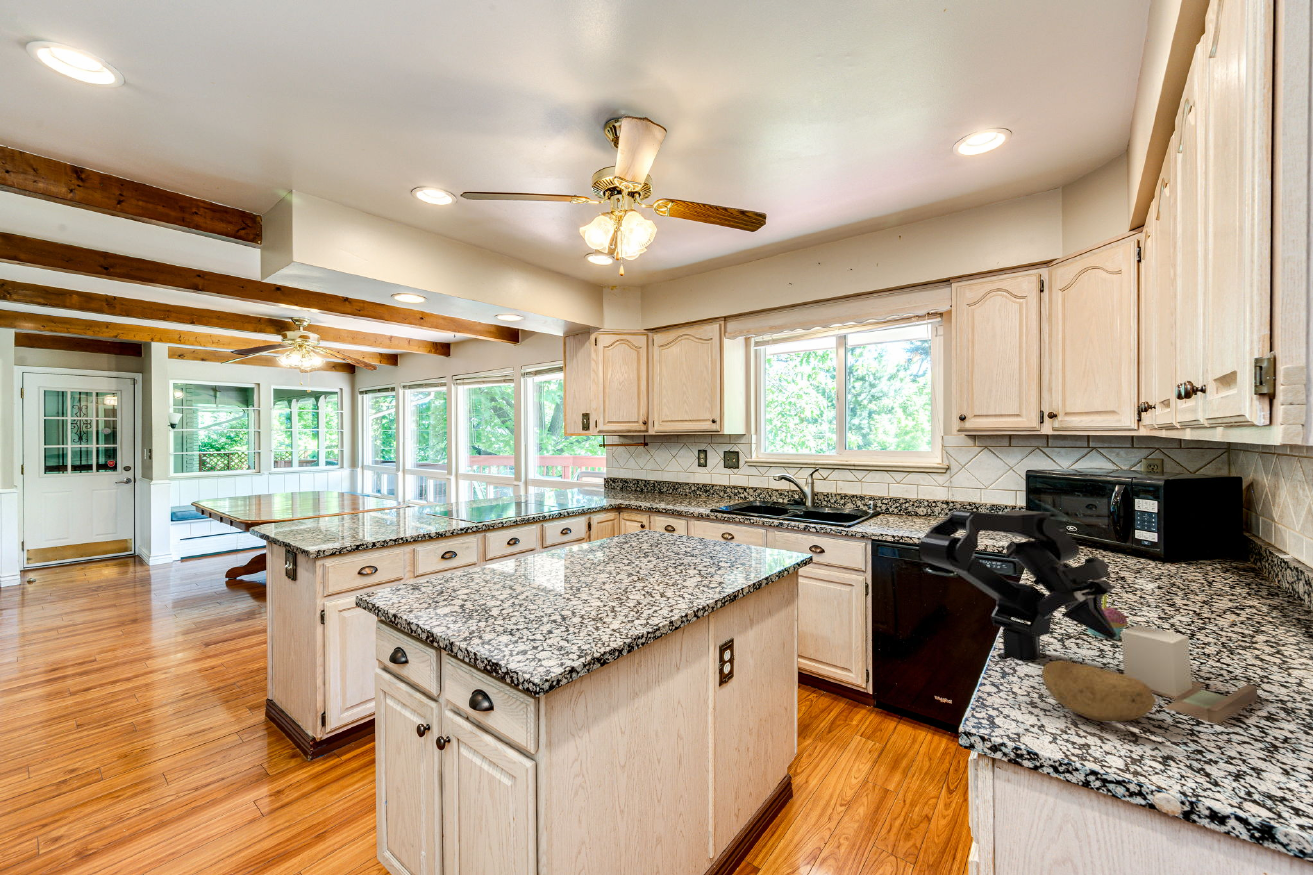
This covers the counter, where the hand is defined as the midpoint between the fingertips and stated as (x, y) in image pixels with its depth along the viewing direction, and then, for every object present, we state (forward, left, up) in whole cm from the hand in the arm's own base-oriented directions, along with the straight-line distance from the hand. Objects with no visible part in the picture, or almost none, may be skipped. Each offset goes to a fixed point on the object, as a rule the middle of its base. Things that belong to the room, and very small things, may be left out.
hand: (1114, 637), depth 98 cm
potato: (-19, -7, -8) cm, 21 cm away
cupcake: (+20, +13, -8) cm, 25 cm away
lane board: (-1, -9, -8) cm, 12 cm away
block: (0, -6, -7) cm, 9 cm away
